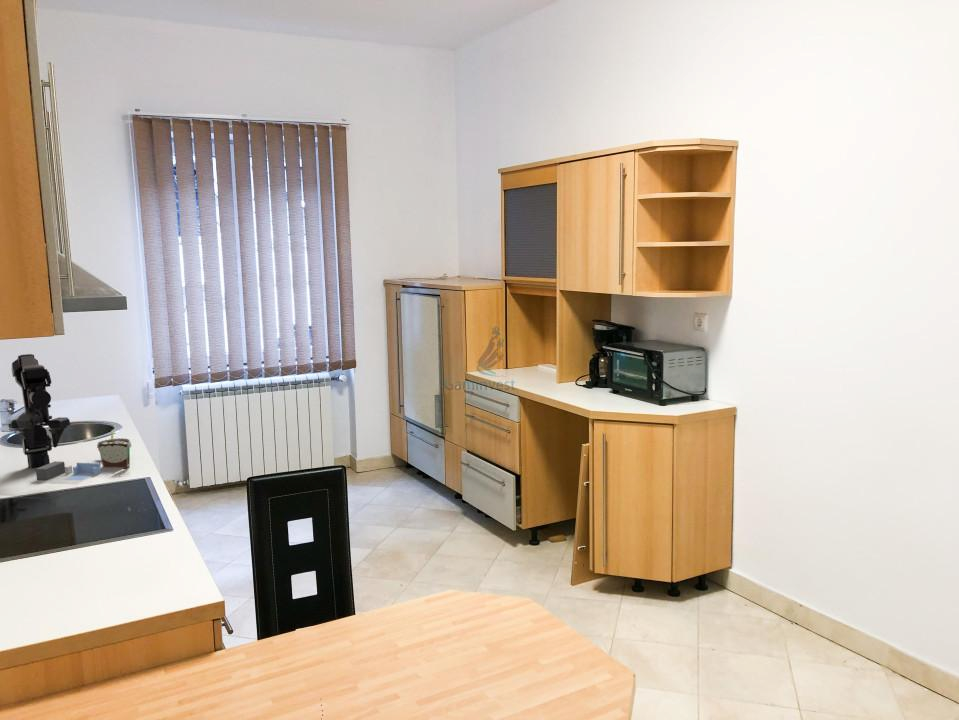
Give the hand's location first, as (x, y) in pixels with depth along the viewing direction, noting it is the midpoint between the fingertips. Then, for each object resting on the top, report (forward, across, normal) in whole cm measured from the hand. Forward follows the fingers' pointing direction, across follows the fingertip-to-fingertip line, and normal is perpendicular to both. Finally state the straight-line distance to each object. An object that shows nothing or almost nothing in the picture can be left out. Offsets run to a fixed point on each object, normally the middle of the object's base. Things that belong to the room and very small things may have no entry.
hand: (43, 447), depth 267 cm
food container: (+12, +16, +18) cm, 27 cm away
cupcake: (+12, +6, +28) cm, 31 cm away
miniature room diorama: (+12, +5, +2) cm, 13 cm away
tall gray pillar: (+11, 0, +3) cm, 12 cm away
